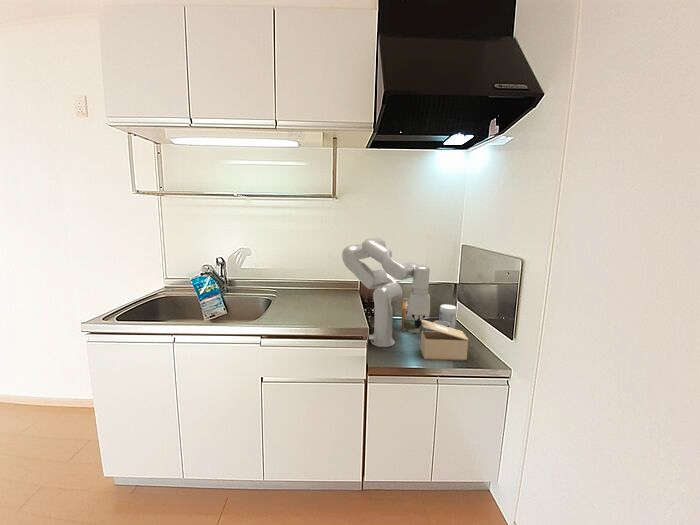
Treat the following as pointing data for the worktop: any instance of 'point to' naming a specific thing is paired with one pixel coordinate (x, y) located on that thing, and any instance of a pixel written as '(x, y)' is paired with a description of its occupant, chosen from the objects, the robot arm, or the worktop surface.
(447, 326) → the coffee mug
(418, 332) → the printed food package
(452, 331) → the carton flap
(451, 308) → the supplement tub
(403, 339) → the worktop surface
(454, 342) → the carton
